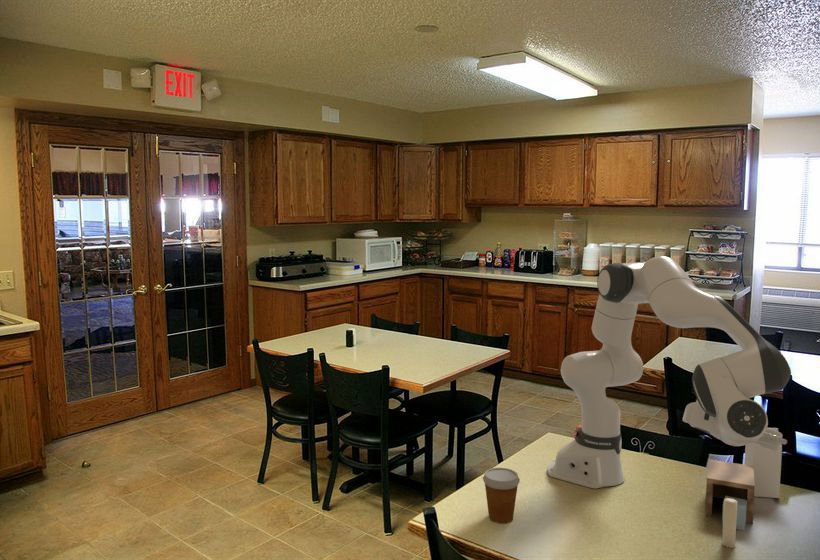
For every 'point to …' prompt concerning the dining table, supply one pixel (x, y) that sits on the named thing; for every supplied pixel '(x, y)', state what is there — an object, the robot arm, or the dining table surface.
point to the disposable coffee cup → (501, 493)
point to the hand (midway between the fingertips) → (727, 429)
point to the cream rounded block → (733, 519)
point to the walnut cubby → (730, 484)
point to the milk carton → (765, 469)
